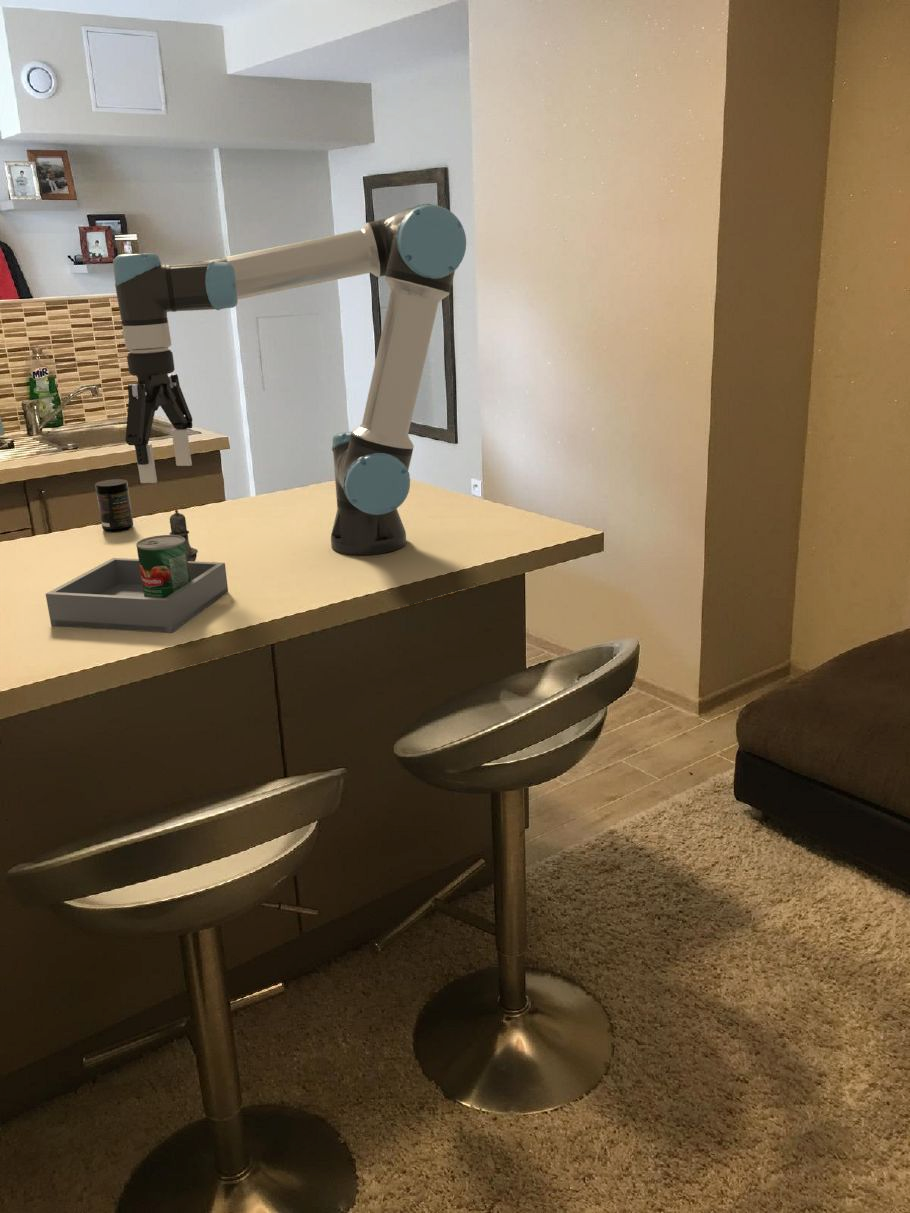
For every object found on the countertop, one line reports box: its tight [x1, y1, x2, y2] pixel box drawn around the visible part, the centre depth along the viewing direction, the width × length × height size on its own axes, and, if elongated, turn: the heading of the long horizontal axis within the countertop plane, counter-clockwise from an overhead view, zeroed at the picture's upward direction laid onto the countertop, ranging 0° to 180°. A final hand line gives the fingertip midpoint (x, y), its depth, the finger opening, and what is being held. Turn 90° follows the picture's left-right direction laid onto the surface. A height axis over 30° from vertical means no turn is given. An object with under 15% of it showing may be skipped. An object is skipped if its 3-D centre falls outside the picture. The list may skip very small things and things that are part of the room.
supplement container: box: [94, 478, 134, 533], centre depth 222 cm, size 7×7×10 cm
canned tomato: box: [135, 534, 191, 598], centre depth 169 cm, size 8×8×11 cm
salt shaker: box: [169, 508, 199, 561], centre depth 190 cm, size 6×6×12 cm
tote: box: [45, 557, 229, 634], centre depth 172 cm, size 22×20×6 cm
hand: (167, 473), depth 178 cm, fingers open, 13 cm apart
